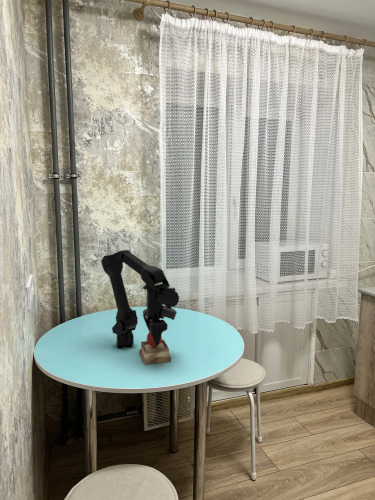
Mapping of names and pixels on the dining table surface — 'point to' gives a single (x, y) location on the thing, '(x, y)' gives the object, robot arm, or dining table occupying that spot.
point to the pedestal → (154, 353)
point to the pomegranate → (151, 341)
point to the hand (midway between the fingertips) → (154, 340)
